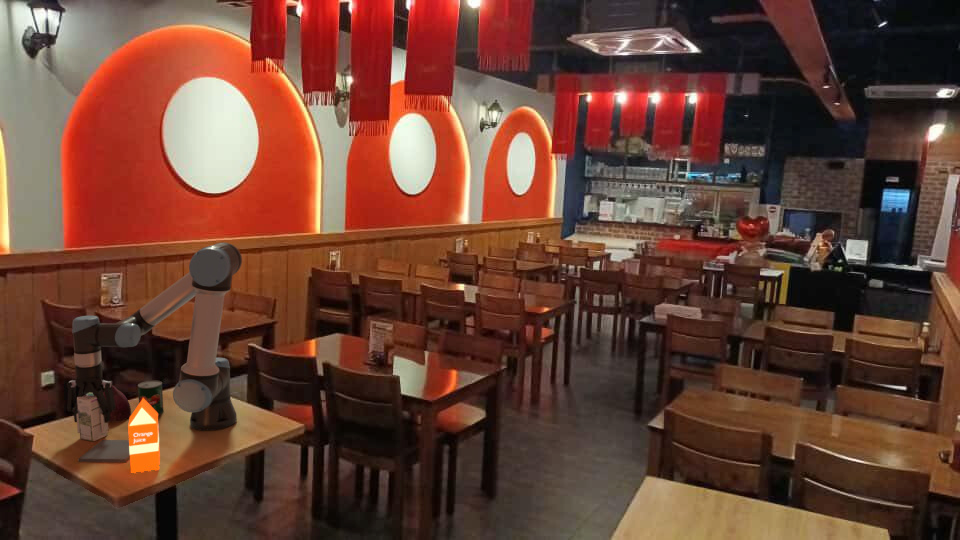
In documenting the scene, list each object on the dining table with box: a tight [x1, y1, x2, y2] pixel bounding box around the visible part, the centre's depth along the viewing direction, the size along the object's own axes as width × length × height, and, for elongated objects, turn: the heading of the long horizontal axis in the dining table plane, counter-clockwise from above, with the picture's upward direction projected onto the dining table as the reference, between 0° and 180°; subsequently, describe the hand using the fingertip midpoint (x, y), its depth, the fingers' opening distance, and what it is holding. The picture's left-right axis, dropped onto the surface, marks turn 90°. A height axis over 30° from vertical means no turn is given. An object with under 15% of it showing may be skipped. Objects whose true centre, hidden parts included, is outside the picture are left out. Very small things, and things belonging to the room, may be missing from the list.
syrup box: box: [76, 392, 108, 442], centre depth 222 cm, size 6×6×14 cm
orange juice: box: [127, 398, 161, 474], centre depth 203 cm, size 8×9×20 cm
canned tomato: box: [137, 380, 165, 416], centre depth 245 cm, size 8×8×11 cm
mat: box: [78, 439, 130, 463], centre depth 213 cm, size 14×14×1 cm
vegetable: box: [103, 385, 132, 423], centre depth 239 cm, size 10×10×15 cm
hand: (93, 431), depth 223 cm, fingers closed on syrup box, 7 cm apart
